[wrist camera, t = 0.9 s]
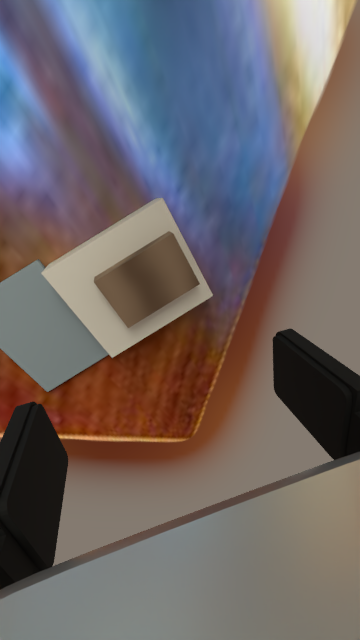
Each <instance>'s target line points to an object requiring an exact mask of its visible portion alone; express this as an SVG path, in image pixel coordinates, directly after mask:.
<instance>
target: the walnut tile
mask: <svg viewBox="0 0 360 640" xmlns="http://www.w3.org/2000/svg"><path fill="white" fill-rule="evenodd" d="M94 283H95V285H96V286H97V287H98V289H99V290H100V291H101V293H102V294H103V295H104V297H105V298H106V299H107V301H108V302H109V303H110V305H111V306H112V307H113V309H114V310H115V311H116V313H117V314H118V315H119V317H120V318H121V319H122V321H123V322H124V323H125V325H126V326H127V328H130V327H131V326H133V325H134V324H136V323H138V322H139V321H141V320H143V319H144V318H146V317H147V316H149V315H151V314H152V313H154V312H155V311H157V310H159V309H160V308H162V307H164V306H165V305H167V304H168V303H170V302H172V301H173V300H175V299H177V298H178V297H180V296H181V295H183V294H185V293H186V292H188V291H190V290H191V289H193V288H194V287H196V286H198V285H199V284H200V283H199V281H198V279H197V277H196V275H195V274H194V272H193V270H192V268H191V266H190V264H189V262H188V260H187V258H186V257H185V255H184V253H183V251H182V249H181V247H180V245H179V243H178V241H177V240H176V238H175V236H174V234H173V233H172V232H170V231H168V232H167V233H165V234H163V235H162V236H160V237H159V238H157V239H155V240H154V241H152V242H150V243H149V244H147V245H146V246H144V247H142V248H141V249H139V250H137V251H136V252H134V253H133V254H131V255H129V256H128V257H126V258H124V259H123V260H121V261H120V262H118V263H116V264H115V265H113V266H111V267H110V268H108V269H107V270H105V271H103V272H102V273H100V274H99V275H97V276H95V277H94Z"/></svg>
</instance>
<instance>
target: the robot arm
mask: <svg viewBox="0 0 360 640" xmlns="http://www.w3.org/2000/svg"><path fill="white" fill-rule="evenodd" d="M273 371H274V390H275V393H276V394H277V396H278V397H279V398H280V399H281V400H282V401H283V403H284V404H285V405H286V406H287V407H288V408H289V409H290V411H291V412H292V413H293V414H294V415H295V416H296V417H297V419H298V420H299V421H300V422H301V423H302V424H303V425H304V427H305V428H306V429H307V430H308V431H309V432H310V433H311V435H312V436H313V437H314V438H315V439H316V440H317V441H318V443H319V444H320V445H321V446H322V447H323V448H324V449H325V451H326V452H327V453H328V454H329V455H330V456H331V457H332V458H333V459H334V461H331V462H328V463H325V464H323V465H320V466H317V467H314V468H312V469H309V470H306V471H303V472H301V473H298V474H295V475H292V476H290V477H287V478H284V479H282V480H279V481H276V482H274V483H271V484H268V485H265V486H263V487H260V488H257V489H254V490H252V491H249V492H246V493H244V494H241V495H238V496H236V497H233V498H230V499H228V500H225V501H222V502H220V503H217V504H215V505H212V506H209V507H206V508H204V509H201V510H198V511H196V512H193V513H190V514H188V515H185V516H182V517H180V518H177V519H174V520H172V521H169V522H167V523H164V524H161V525H158V526H156V527H153V528H151V529H148V530H146V531H143V532H140V533H137V534H135V535H132V536H130V537H127V538H124V539H122V540H119V541H116V542H114V543H111V544H109V545H106V546H103V547H101V548H98V549H95V550H93V551H90V552H88V553H85V554H83V555H80V556H78V557H75V558H73V559H70V560H68V561H65V562H63V563H60V564H58V565H55V566H53V567H52V565H53V563H54V557H55V550H56V543H57V536H58V529H59V522H60V515H61V509H62V502H63V494H64V488H65V481H66V474H67V467H68V456H67V453H66V451H65V449H64V447H63V445H62V443H61V441H60V439H59V437H58V435H57V433H56V431H55V429H54V427H53V425H52V423H51V421H50V419H49V417H48V415H47V413H46V411H45V409H44V407H43V406H42V405H41V404H38V405H37V404H36V403H35V402H30V403H27V404H23V405H20V406H17V407H16V408H15V410H14V412H13V414H12V417H11V419H10V421H9V424H8V426H7V428H6V430H5V433H4V435H3V437H2V440H1V442H0V640H360V376H359V375H358V374H356V373H355V372H353V371H352V370H350V369H349V368H348V367H346V366H345V365H343V364H342V363H340V362H339V361H337V360H336V359H335V358H333V357H332V356H330V355H329V354H327V353H326V352H324V351H323V350H322V349H320V348H319V347H317V346H316V345H314V344H313V343H311V342H310V341H309V340H307V339H306V338H304V337H303V336H301V335H300V334H298V333H297V332H296V331H294V330H293V329H287V330H284V331H280V332H277V334H276V336H275V337H274V338H273Z"/></svg>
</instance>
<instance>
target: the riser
mask: <svg viewBox="0 0 360 640" xmlns="http://www.w3.org/2000/svg"><path fill="white" fill-rule="evenodd" d="M168 231H170V232H172V233H173V234H174V236H175V238H176V240H177V241H178V243H179V245H180V247H181V249H182V251H183V253H184V255H185V257H186V258H187V260H188V262H189V264H190V266H191V268H192V270H193V272H194V274H195V275H196V277H197V279H198V281H199V283H200V284H199V285H198V286H196V287H194V288H193V289H191V290H190V291H188V292H186V293H185V294H183V295H181V296H180V297H178V298H177V299H175V300H173V301H172V302H170V303H168V304H167V305H165V306H164V307H162V308H160V309H159V310H157V311H155V312H154V313H152V314H151V315H149V316H147V317H146V318H144V319H143V320H141V321H139V322H138V323H136V324H134V325H133V326H131V327H130V328H127V326H126V325H125V323H124V322H123V321H122V319H121V318H120V317H119V315H118V314H117V313H116V311H115V310H114V309H113V307H112V306H111V305H110V303H109V302H108V301H107V299H106V298H105V297H104V295H103V294H102V293H101V291H100V290H99V289H98V287H97V286H96V285H95V283H94V277H95V276H97V275H99V274H100V273H102V272H103V271H105V270H107V269H108V268H110V267H111V266H113V265H115V264H116V263H118V262H120V261H121V260H123V259H124V258H126V257H128V256H129V255H131V254H133V253H134V252H136V251H137V250H139V249H141V248H142V247H144V246H146V245H147V244H149V243H150V242H152V241H154V240H155V239H157V238H159V237H160V236H162V235H163V234H165V233H167V232H168ZM41 274H42V275H43V276H44V277H45V278H46V280H47V281H48V282H49V283H50V284H51V286H52V287H53V288H54V289H55V290H56V291H57V293H58V294H59V295H60V296H61V297H62V299H63V300H64V301H65V302H66V303H67V305H68V306H69V307H70V308H71V309H72V311H73V312H74V313H75V314H76V315H77V317H78V318H79V319H80V320H81V321H82V323H83V324H84V325H85V326H86V327H87V329H88V330H89V331H90V332H91V333H92V335H93V336H94V337H95V338H96V339H97V341H98V342H99V343H100V344H101V345H102V346H103V348H104V349H105V350H106V351H107V352H108V354H109V355H110V356H111V357H112V358H113V357H115V356H116V355H118V354H119V353H121V352H123V351H124V350H126V349H127V348H129V347H131V346H132V345H134V344H136V343H137V342H139V341H140V340H142V339H144V338H145V337H147V336H149V335H150V334H152V333H153V332H155V331H157V330H158V329H160V328H162V327H163V326H165V325H166V324H168V323H170V322H171V321H173V320H175V319H176V318H178V317H179V316H181V315H183V314H184V313H186V312H188V311H189V310H191V309H192V308H194V307H196V306H197V305H199V304H200V303H202V302H204V301H205V300H207V299H209V298H210V297H212V296H213V295H212V293H211V291H210V289H209V287H208V285H207V283H206V281H205V279H204V277H203V275H202V273H201V271H200V269H199V267H198V265H197V263H196V262H195V260H194V258H193V256H192V254H191V252H190V250H189V248H188V246H187V244H186V242H185V240H184V238H183V236H182V234H181V232H180V231H179V229H178V227H177V225H176V223H175V221H174V219H173V217H172V215H171V213H170V211H169V209H168V207H167V205H166V203H165V201H164V199H163V198H156V199H154V200H152V201H151V202H149V203H148V204H146V205H144V206H143V207H141V208H139V209H138V210H136V211H135V212H133V213H131V214H130V215H128V216H126V217H125V218H123V219H122V220H120V221H118V222H117V223H115V224H113V225H112V226H110V227H109V228H107V229H105V230H104V231H102V232H101V233H99V234H97V235H96V236H94V237H92V238H91V239H89V240H88V241H86V242H84V243H83V244H81V245H79V246H78V247H76V248H75V249H73V250H71V251H70V252H68V253H66V254H65V255H63V256H62V257H60V258H58V259H57V260H55V261H53V262H52V263H50V264H49V265H48V266H47V267H46V268H45V269H44V270H43V271H42V273H41Z"/></svg>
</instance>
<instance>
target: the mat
mask: <svg viewBox="0 0 360 640" xmlns="http://www.w3.org/2000/svg"><path fill="white" fill-rule="evenodd" d="M44 269H45V266H44V265H43V264H42V263H41V262H40V260H39V259H38V260H36V261H35V262H33V263H31V264H30V265H28V266H26V267H25V268H23V269H22V270H20V271H18V272H17V273H15V274H13V275H12V276H10V277H9V278H7V279H5V280H4V281H2V282H1V283H0V348H1V349H2V350H3V351H4V352H5V353H6V354H7V355H8V356H9V357H10V358H11V359H12V360H13V361H15V362H16V363H17V364H18V365H19V366H20V367H21V368H22V369H23V370H24V371H25V372H26V373H28V374H29V375H30V376H31V377H32V378H33V379H34V380H35V381H36V382H37V383H38V384H39V385H41V386H42V387H43V388H44V389H45V390H46V391H47V392H49V391H50V390H52V389H53V388H55V387H57V386H58V385H60V384H62V383H63V382H65V381H66V380H68V379H70V378H71V377H73V376H75V375H76V374H78V373H79V372H81V371H83V370H84V369H86V368H88V367H89V366H91V365H92V364H94V363H96V362H97V361H99V360H101V359H102V358H104V357H105V356H107V355H109V354H108V352H107V351H106V350H105V349H104V348H103V346H102V345H101V344H100V343H99V342H98V341H97V339H96V338H95V337H94V336H93V335H92V333H91V332H90V331H89V330H88V329H87V327H86V326H85V325H84V324H83V323H82V321H81V320H80V319H79V318H78V317H77V315H76V314H75V313H74V312H73V311H72V309H71V308H70V307H69V306H68V305H67V303H66V302H65V301H64V300H63V299H62V297H61V296H60V295H59V294H58V293H57V291H56V290H55V289H54V288H53V287H52V286H51V284H50V283H49V282H48V281H47V280H46V278H45V277H44V276H43V275H42V274H41V273H42V271H43V270H44Z"/></svg>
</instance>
